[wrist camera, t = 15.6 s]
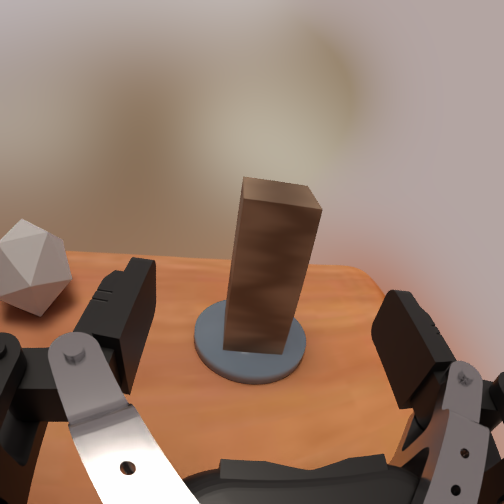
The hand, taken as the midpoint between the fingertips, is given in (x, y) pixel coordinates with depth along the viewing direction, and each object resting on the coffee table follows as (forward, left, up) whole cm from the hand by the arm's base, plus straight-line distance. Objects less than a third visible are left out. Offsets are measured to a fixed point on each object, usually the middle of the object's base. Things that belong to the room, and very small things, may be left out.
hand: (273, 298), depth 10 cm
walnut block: (+5, +12, -13) cm, 18 cm away
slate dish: (+5, +12, -14) cm, 19 cm away
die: (-16, +20, -15) cm, 29 cm away
